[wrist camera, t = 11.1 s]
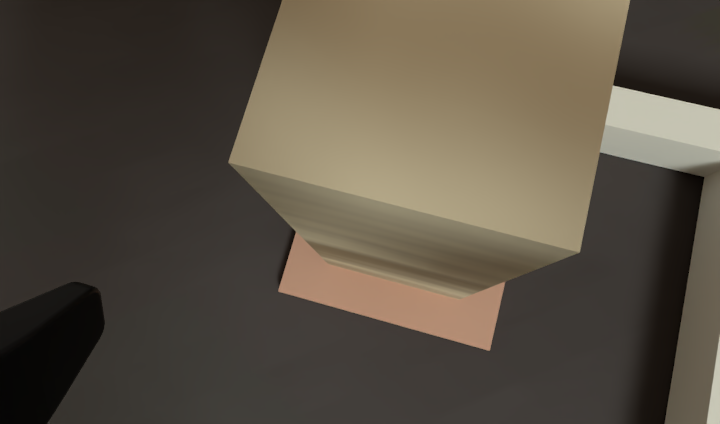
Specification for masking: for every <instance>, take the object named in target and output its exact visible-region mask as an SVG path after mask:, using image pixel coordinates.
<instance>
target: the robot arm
mask: <svg viewBox="0 0 720 424" xmlns="http://www.w3.org/2000/svg"><path fill="white" fill-rule="evenodd" d="M104 324H105V320H104V314H103V307H102V300H101V294H100V291H99V290H98V289H97V288H96V287H93V286H90V285H87V284H83V283H80V282H71V283H68V284H66V285H63V286H61V287H58V288H56V289H54V290H51V291H49V292H47V293H44V294H42V295H39V296H37V297H35V298H32V299H30V300H28V301H25V302H23V303H20V304H18V305H16V306H13V307H11V308H9V309H6V310H4V311H1V312H0V424H47V422H48V421H49V419H50V418H51V417H52V415H53V414H54V412H55V411H56V409H57V407H58V406H59V404H60V403H61V401H62V399H63V398H64V396H65V395H66V393H67V391H68V390H69V388H70V386H71V385H72V383H73V381H74V380H75V378H76V376H77V375H78V373H79V372H80V370H81V368H82V367H83V365H84V363H85V362H86V360H87V358H88V357H89V355H90V354H91V352H92V350H93V349H94V347H95V345H96V344H97V342H98V340H99V339H100V337H101V335H102V333H103V330H104Z"/></svg>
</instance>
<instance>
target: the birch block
mask: <svg viewBox="0 0 720 424" xmlns="http://www.w3.org/2000/svg"><path fill="white" fill-rule="evenodd" d="M629 2H630V0H282V3H281V6H280V9H279V12H278V15H277V18H276V21H275V24H274V27H273V30H272V33H271V36H270V39H269V42H268V45H267V48H266V51H265V54H264V57H263V60H262V63H261V66H260V69H259V72H258V75H257V78H256V81H255V84H254V87H253V90H252V93H251V96H250V99H249V102H248V105H247V108H246V111H245V114H244V117H243V120H242V123H241V126H240V129H239V132H238V135H237V138H236V141H235V144H234V147H233V150H232V153H231V156H230V159H229V162H228V163H229V164H230V165H231V166H232V167H233V168H234V169H235V170H236V171H237V172H238V173H239V174H240V175H241V176H242V177H243V178H244V179H245V180H246V181H247V182H248V183H249V184H250V185H251V186H252V187H253V188H254V189H255V190H256V191H257V192H258V193H259V194H260V195H261V196H262V197H263V198H264V199H265V200H266V201H267V202H268V203H269V204H270V205H271V206H272V208H273V209H274V210H275V211H276V212H277V213H278V214H279V215H280V216H281V217H282V218H283V219H284V220H285V221H286V222H287V223H288V224H289V225H290V226H291V227H292V228H293V229H294V230H295V231H296V232H297V233H298V234H299V235H300V236H301V237H302V238H303V239H304V240H305V241H306V242H307V243H308V244H309V245H310V246H311V247H312V248H313V249H314V250H315V251H316V252H317V253H318V254H319V255H320V256H321V257H322V258H323V259H324V260H325V261H326V262H327V263H328V264H329V265H333V266H337V267H340V268H344V269H348V270H351V271H355V272H359V273H363V274H366V275H370V276H374V277H377V278H381V279H385V280H388V281H392V282H396V283H399V284H403V285H407V286H410V287H414V288H418V289H421V290H425V291H429V292H433V293H436V294H440V295H444V296H447V297H451V298H455V299H458V300H459V299H462V298H465V297H467V296H470V295H472V294H475V293H477V292H480V291H482V290H485V289H488V288H490V287H493V286H495V285H498V284H500V283H503V282H505V281H508V280H511V279H513V278H516V277H518V276H521V275H523V274H526V273H528V272H531V271H534V270H536V269H539V268H541V267H544V266H546V265H549V264H551V263H554V262H557V261H559V260H562V259H564V258H567V257H569V256H572V255H574V254H577V253H580V248H581V243H582V238H583V233H584V228H585V223H586V218H587V213H588V208H589V203H590V198H591V193H592V188H593V183H594V178H595V173H596V168H597V163H598V158H599V153H600V148H601V143H602V138H603V133H604V128H605V123H606V118H607V113H608V108H609V103H610V98H611V93H612V88H613V83H614V78H615V73H616V67H617V62H618V57H619V52H620V47H621V42H622V37H623V32H624V27H625V22H626V17H627V12H628V7H629Z"/></svg>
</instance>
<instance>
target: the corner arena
mask: <svg viewBox="0 0 720 424" xmlns="http://www.w3.org/2000/svg"><path fill="white" fill-rule="evenodd" d="M600 152H601V153H605V154H609V155H614V156H618V157H622V158H626V159H631V160H635V161H639V162H643V163H647V164H652V165H656V166H660V167H664V168H668V169H673V170H677V171H681V172H685V173H690V174H694V175H698V176H702V177H704V182H703V188H702V195H701V201H700V207H699V213H698V219H697V226H696V232H695V238H694V244H693V250H692V257H691V263H690V269H689V275H688V281H687V288H686V294H685V300H684V306H683V312H682V319H681V325H680V331H679V337H678V343H677V350H676V356H675V362H674V368H673V374H672V381H671V387H670V393H669V399H668V405H667V412H666V418H665V424H720V109H715V108H711V107H706V106H702V105H697V104H693V103H688V102H684V101H679V100H675V99H671V98H666V97H662V96H657V95H653V94H648V93H644V92H639V91H635V90H630V89H626V88H621V87H617V86H613V88H612V93H611V98H610V103H609V108H608V113H607V118H606V123H605V128H604V133H603V138H602V143H601V148H600ZM504 285H505V282H503V283H500V284H498V285H495V286H493V287H490V288H488V289H485V290H482V291H480V292H477V293H475V294H472V295H470V296H467V297H465V298H462V299H459V300H458V299H455V298H451V297H447V296H444V295H440V294H436V293H433V292H429V291H425V290H421V289H418V288H414V287H410V286H407V285H403V284H399V283H396V282H392V281H388V280H385V279H381V278H377V277H374V276H370V275H366V274H363V273H359V272H355V271H351V270H348V269H344V268H340V267H337V266H333V265H329V264H328V263H327V262H326V261H325V260H324V259H323V258H322V257H321V256H320V255H319V254H318V253H317V252H316V251H315V250H314V249H313V248H312V247H311V246H310V245H309V244H308V243H307V242H306V241H305V240H304V239H303V238H302V237H301V236H300V235H299V234H298V233H297V232H296V234H295V237H294V240H293V244H292V247H291V250H290V254H289V257H288V260H287V264H286V267H285V270H284V274H283V277H282V280H281V283H280V287H279V290H278V292H282V293H285V294H289V295H292V296H296V297H300V298H303V299H307V300H310V301H314V302H317V303H321V304H324V305H328V306H332V307H335V308H339V309H342V310H346V311H349V312H353V313H357V314H360V315H364V316H367V317H371V318H374V319H378V320H381V321H385V322H389V323H392V324H396V325H399V326H403V327H406V328H410V329H413V330H417V331H421V332H424V333H428V334H431V335H435V336H438V337H442V338H445V339H449V340H453V341H456V342H460V343H463V344H467V345H470V346H474V347H477V348H481V349H485V350H488V351H490V347H491V343H492V338H493V334H494V329H495V325H496V320H497V316H498V311H499V307H500V303H501V298H502V294H503V289H504Z"/></svg>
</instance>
